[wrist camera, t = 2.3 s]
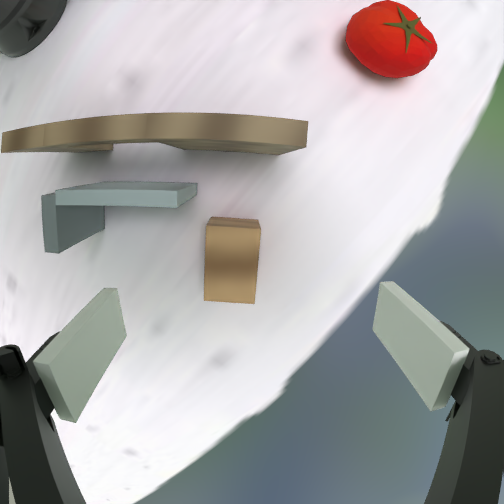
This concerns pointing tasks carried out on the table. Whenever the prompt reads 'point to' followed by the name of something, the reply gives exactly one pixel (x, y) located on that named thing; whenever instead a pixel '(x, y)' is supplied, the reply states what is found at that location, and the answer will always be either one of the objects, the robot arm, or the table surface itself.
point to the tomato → (390, 40)
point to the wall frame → (163, 133)
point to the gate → (101, 207)
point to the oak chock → (231, 260)
